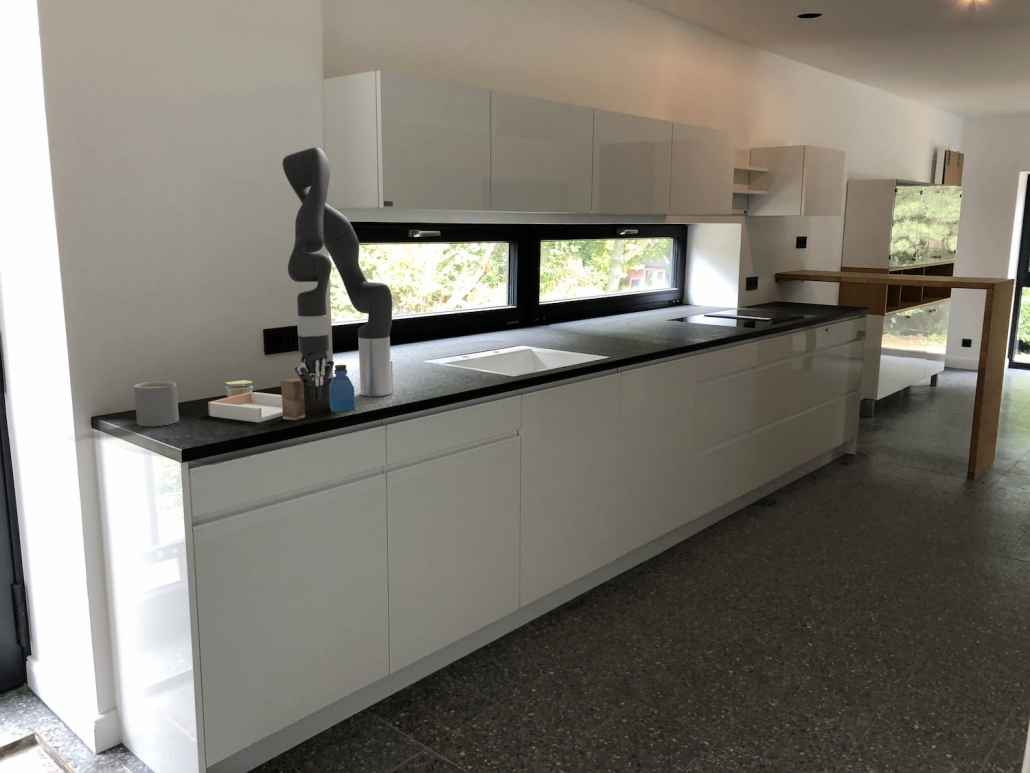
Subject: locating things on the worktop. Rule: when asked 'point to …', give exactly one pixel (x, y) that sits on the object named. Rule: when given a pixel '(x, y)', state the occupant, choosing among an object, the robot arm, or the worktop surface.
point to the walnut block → (293, 399)
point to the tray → (248, 407)
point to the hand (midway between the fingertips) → (316, 399)
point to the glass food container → (238, 388)
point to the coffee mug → (156, 403)
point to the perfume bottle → (341, 391)
